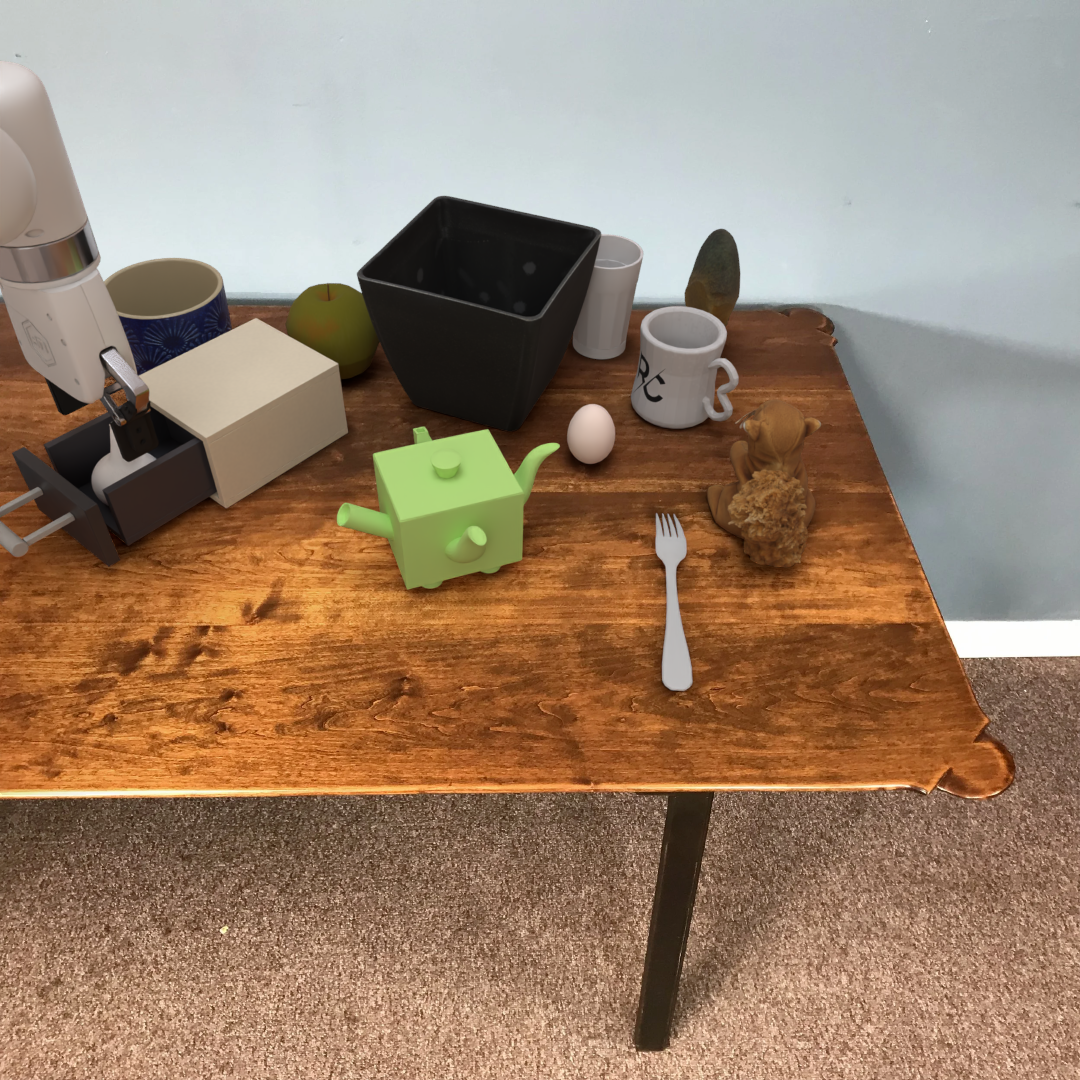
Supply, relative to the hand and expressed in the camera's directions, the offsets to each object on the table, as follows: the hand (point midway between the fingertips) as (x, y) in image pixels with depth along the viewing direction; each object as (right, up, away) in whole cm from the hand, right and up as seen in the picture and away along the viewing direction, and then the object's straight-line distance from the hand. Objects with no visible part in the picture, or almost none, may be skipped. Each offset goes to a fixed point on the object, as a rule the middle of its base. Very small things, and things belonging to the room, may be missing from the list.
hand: (108, 429), depth 81 cm
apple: (+15, +10, +24) cm, 30 cm away
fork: (+49, -15, +1) cm, 52 cm away
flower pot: (+32, +7, +22) cm, 39 cm away
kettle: (+30, -11, +4) cm, 32 cm away
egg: (+43, -1, +14) cm, 45 cm away
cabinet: (+8, 0, +14) cm, 16 cm away
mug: (+53, +4, +20) cm, 57 cm away
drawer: (-2, -7, +5) cm, 9 cm away
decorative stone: (+57, +13, +29) cm, 65 cm away
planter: (-2, +9, +22) cm, 24 cm away
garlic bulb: (0, -5, +5) cm, 8 cm away
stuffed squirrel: (+59, -9, +7) cm, 60 cm away
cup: (+45, +14, +29) cm, 55 cm away
